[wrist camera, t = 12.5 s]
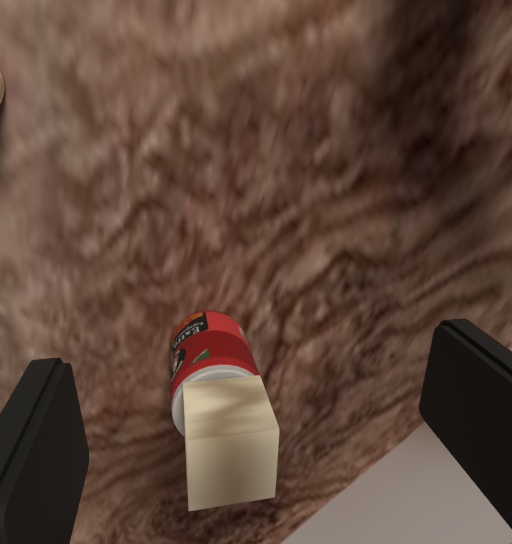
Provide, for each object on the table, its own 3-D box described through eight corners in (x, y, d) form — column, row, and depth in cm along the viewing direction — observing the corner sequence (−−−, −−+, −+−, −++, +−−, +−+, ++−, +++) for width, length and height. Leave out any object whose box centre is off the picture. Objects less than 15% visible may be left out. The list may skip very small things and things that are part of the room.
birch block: (259, 375, 31) (279, 429, 26) (257, 435, 33) (275, 497, 28) (182, 382, 30) (186, 441, 24) (185, 444, 32) (188, 511, 26)
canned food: (191, 296, 39) (199, 355, 29) (258, 325, 42) (286, 388, 32) (156, 357, 41) (153, 433, 31) (223, 381, 44) (240, 458, 34)
